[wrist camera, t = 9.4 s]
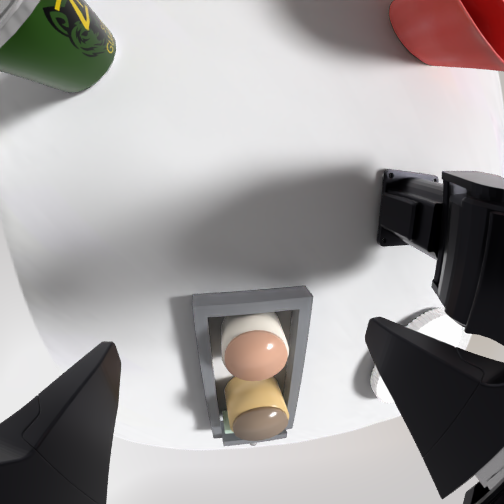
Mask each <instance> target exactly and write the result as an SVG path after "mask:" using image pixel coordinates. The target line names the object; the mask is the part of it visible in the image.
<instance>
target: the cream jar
mask: <svg viewBox="0 0 504 504" xmlns="http://www.w3.org/2000/svg"><path fill="white" fill-rule="evenodd" d="M221 348H222V361H223V363H224V365H225V367H226V368H227V370H228V371H229V372H230V373H231V374H232V375H233V376H235V377H237V378H239V379H242V380H246V381H261V380H265V379H268V378H270V377H272V376H274V375H276V374H277V373H278V372H280V371H281V370H282V369H283V367H284V366H285V364H286V362H287V358H288V355H289V346H288V343H287V340H286V338H285V335H284V332H283V329H282V326H281V324H280V321H279V318H278V316H277V315H276V313H275V312H268V313H257V314H246V315H234V316H226V317H225V318H224V320H223V322H222V326H221Z"/></svg>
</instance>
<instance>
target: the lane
mask: <svg viewBox="0 0 504 504" xmlns="http://www.w3.org/2000/svg"><path fill="white" fill-rule="evenodd" d="M312 302H313V296H312V294H311V293H310V291H309V290H308V289H307V287H306V286H298V287H288V288H276V289H265V290H252V291H239V292H225V293H209V294H193V304H192V308H193V316H194V324H195V332H196V339H197V346H198V353H199V360H200V366H201V372H202V379H203V385H204V390H205V396H206V402H207V407H208V412H209V418H210V423H211V428H212V433H213V437H214V438H223V445H224V446H230V445H240V444H249V443H257V442H264V441H270V440H276V439H282V438H286V437H287V431H286V429H291V428H292V427H293V422H294V417H295V412H296V407H297V401H298V396H299V390H300V385H301V379H302V373H303V367H304V360H305V354H306V347H307V340H308V333H309V326H310V318H311V310H312ZM287 310H292V316H291V327H290V338H289V355H288V358H287V367H286V376H285V384H284V393H283V399H284V401H285V404H286V407H287V410H288V412H289V420H288V425H287V427H286V428H285V429H284V430H283V431H282V432H281V433H279V434H278V435H276V436H274V437H271V438H269V439H265V440H260V441H247V440H243V439H240V438H238V437H237V436H236V435H235V434H234V433H228V434H225V429H224V422H223V421H220V415H219V408H218V401H217V394H216V386H215V378H214V370H213V362H212V353H211V344H210V334H209V324H208V317H220V316H234V315H246V314H257V313H268V312H278V311H287Z"/></svg>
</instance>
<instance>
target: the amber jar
mask: <svg viewBox="0 0 504 504" xmlns="http://www.w3.org/2000/svg"><path fill="white" fill-rule="evenodd" d="M224 393H225V400H226V406H227V412H228V419H229V425H230V429H231V430H232V432H234V434H235V435H236V436H237V437H238V438H240V439H243V440H247V441H260V440H265V439H269V438H271V437H274V436H276V435H278V434H279V433H281V432H282V431H283V430H284V429H285V428H286V427H287V425H288V420H289V412H288V410H287V407H286V404H285V401H284V399H283V396H282V393H281V391H280V388H279V385H278V382H277V380H276V379H275V377H274V376H272V377H270V378H268V379H265V380H261V381H246V380H242V379H239V378H237V377H234V378H232V379H231V380H230V381H229V382H228V383H227V385H226V387H225V390H224Z"/></svg>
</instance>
